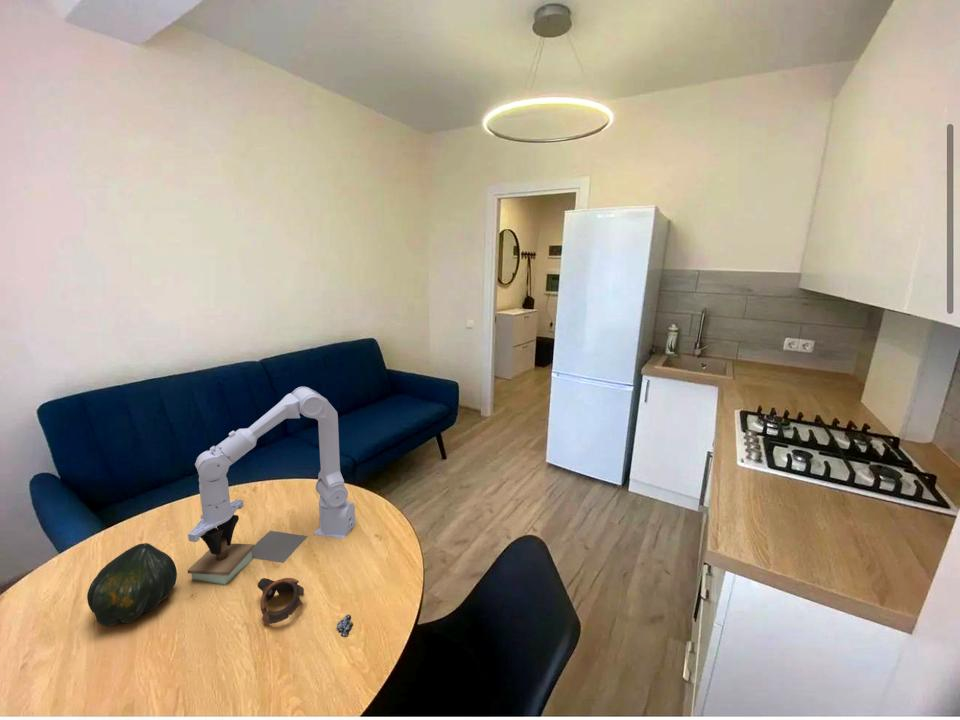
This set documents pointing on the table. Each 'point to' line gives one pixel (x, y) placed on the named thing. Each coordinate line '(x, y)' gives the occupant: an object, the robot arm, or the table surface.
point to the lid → (221, 559)
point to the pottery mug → (281, 587)
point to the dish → (223, 578)
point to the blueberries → (345, 626)
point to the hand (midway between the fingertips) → (221, 548)
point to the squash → (131, 585)
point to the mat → (277, 546)
